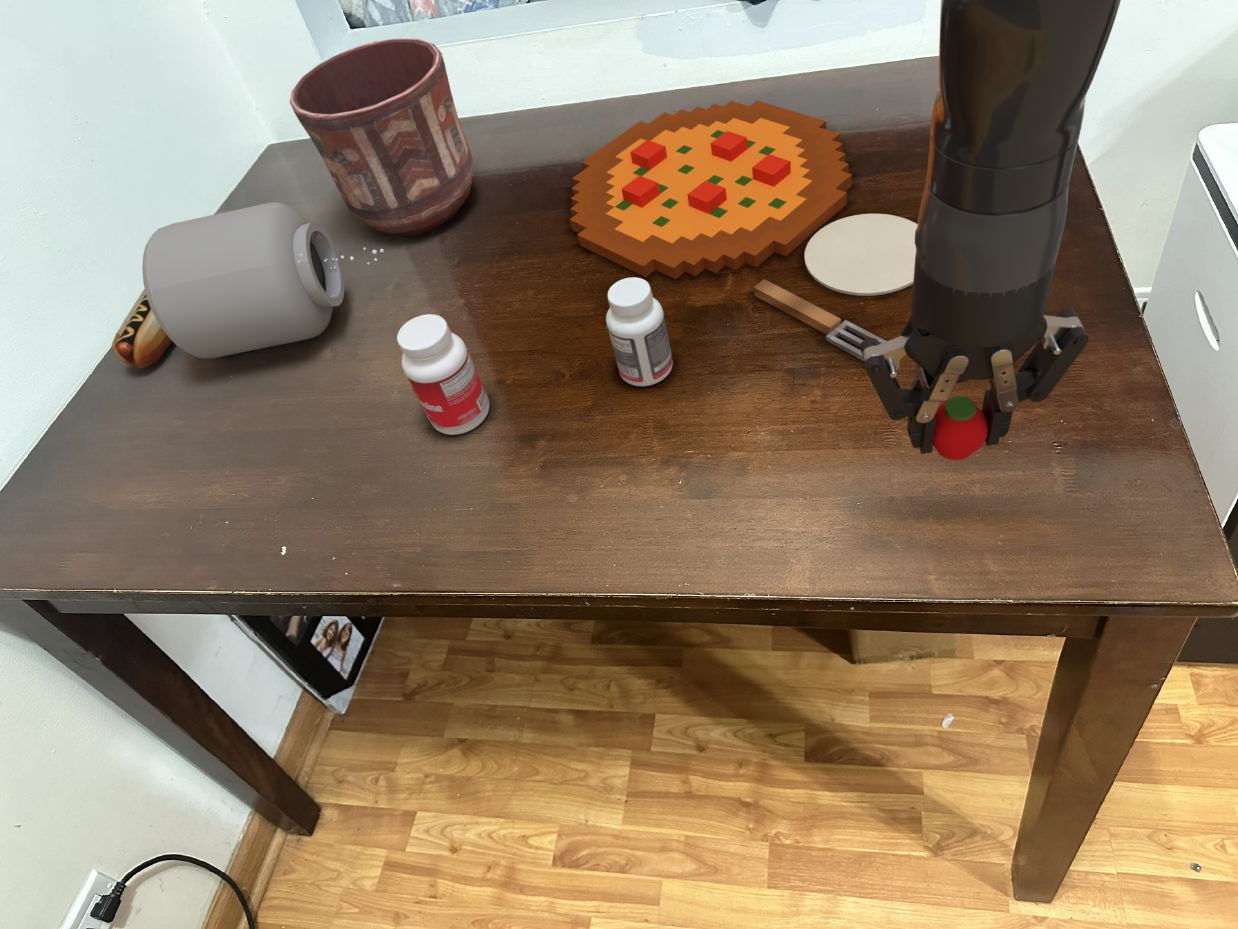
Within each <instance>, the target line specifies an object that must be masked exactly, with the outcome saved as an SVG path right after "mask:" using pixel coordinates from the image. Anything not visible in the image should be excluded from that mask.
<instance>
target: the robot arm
mask: <svg viewBox="0 0 1238 929" xmlns="http://www.w3.org/2000/svg"><path fill="white" fill-rule="evenodd" d="M1121 1H1122V0H940V16H939V42H938V43H939V44H938V45H939V46H938V88H937V91H936V94H935V99H934V102H933V103H934V104H933V108H932V114H931V123H930V128H929V129H930V130H929V131H930V132H929V139H928V153H927V164H926V178H925V185H924V189H923V191H922V197H921V201H920V204H919V210H918V216H917V217H918V218H917V224H918V225H917V229H916V230H915V246H916V254H915V267H914V279H913V284H912V293H911V308H910V316H909V319H908V321H907V322H906V323H905V325H904V326H903V328H902V330H901V333H900V336H897V337H895V338H892V339H889V340H886V341H887V342H884V343H882V344H879V341H878V340H877V339H875V338H868V339H864V341H862V342H861V344H860V347H859V350H861V352H862V356H863V360H864V361H863V360H862V361H863V364H864V367H865V370H866V374H867V377H868V378H869V380H870V382H871V384H872V386H873V388H874V390H875V392H876V394H877V395H878V398H879V399H880V402H881V404H882V406H883V407H884V408H885V411H886V413H887V415H888V417H889V418H890V420H892V421H901V420H903V419H905V418H907V427H906V430H907V434H908V436H909V441H910V444H911V446H912V447H913V449H919V452H920V454H921V455H924V454H932V453H933V449H934V446H933V441H934V433H935V425H936V420H935V417H934V416H935V414H936V412H937V410H938V408H939V406H940V405H942V403H946V402H947V401H948V400H949V399H950V396H951V393H952V391H953V390H954V388H955V386H956V384H961V383H964V382H966V381H970V380H971V381H972V380H977V381H985V380H988V381H989V385H990V389H985V390H984V396H983V401H982V407H981V410H982V412H983V413H984V415H985V417H986V419H987V423H988V434H987V437H986V440H985V441H984V443H985V446H986V447H987V446H988V447H989V446H998V445H999V442H1000V438H1004V437H1006V436H1007V435H1008V434H1009V432H1010V426H1011V423H1012V417H1013V413H1014V410H1016V409H1017V408H1018V407H1019V405H1020V403H1021V402H1024V401H1026V400H1027V401H1028V400H1029V401H1030V402H1031V403H1039V402H1042V401H1044V400H1046V399H1047V398H1048V397H1049V396H1050V394H1051V393H1052V391H1053V390H1054V389H1055V387H1056V386H1057V384H1058V383H1059V382H1060V381H1061V379H1062V378H1063V377H1064V375H1065V374H1067V371H1068V370H1069V368H1070V367H1072V365H1073V363H1074V362H1075V361H1076V359H1077V358H1078V357H1079V355H1080V354H1081V352H1082V351H1083V350H1084V348H1085V347H1086V346H1087V344H1088V343H1089V340H1090V338H1089V336H1088V334H1087V332H1086V329H1085V327H1084V325H1083V323H1082V322H1081V320H1080V318H1079V316H1078V314H1077V313H1076V311H1075V310H1074V309H1072V308H1065V309H1062V310H1060V311H1059V312H1058V313H1057V314H1056V315H1045V311H1046V307H1047V303H1048V299H1049V295H1050V290H1051V285H1052V282H1053V276H1054V274H1055V268H1056V263H1057V259H1058V255H1059V250H1060V245H1061V243H1062V238H1063V235H1064V229H1065V226H1066V219H1067V214H1068V205H1069V203H1068V201H1069V185H1070V179H1071V176H1072V171H1073V164H1074V162H1075V158H1076V153H1077V149H1078V144H1079V140H1080V134H1081V131H1082V127H1083V122H1084V115H1085V106H1086V98H1087V94H1088V92H1089V89H1090V87H1091V85H1092V83H1093V81H1094V78H1095V75H1096V73H1097V71H1098V68H1099V65H1100V62H1101V60H1102V57H1103V54H1104V52H1105V49H1106V47H1107V44H1108V42H1109V38H1110V35H1111V33H1112V30H1113V27H1114V25H1115V21H1116V18H1117V16H1118V11H1119V9H1120V5H1121ZM1032 347H1033V349H1032ZM1031 349H1032V350H1031ZM1029 350H1031V351H1030V353H1029V354H1028V356H1027V357H1026V359H1025V361H1024V362H1023V363H1022V365H1021V366H1020V368H1019V370H1018V372H1017V373H1016V372H1015V367H1014V364H1015V363H1016V362H1017V361H1018V360H1019V359H1020V358H1021V357H1023V356H1024V355H1025V354H1026V353H1027V352H1028V351H1029ZM906 356H908V357H909V358H910V360H912V361H913V362H915V363H916V366H915V367H916V369H915V371H916V372H915V376H914V378H913V380H912V382H911V385H910V387H909V388H901V386H900V383H899V382H898V379H897V376H898V371H900V369H901V367H902V365H901V361H902V360H903V359H904V358H905V357H906Z"/></svg>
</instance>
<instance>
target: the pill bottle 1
mask: <svg viewBox="0 0 1238 929" xmlns="http://www.w3.org/2000/svg"><path fill="white" fill-rule="evenodd" d="M396 340H397V344H398V346H399V347H400V350H401V352H402V355H401V368H402V370H403V373H404V376H405V377H406V379H407V381H408V383H409V385H410V387H411V388H412V391H413V392H414V394H415V396H416V398H417V400H418V402H419V403H420V406H421V407H422V409H423V412H424V413H425V415H426V417H427V419H428V422H430V424H431V425H432V427H433V428H434V429H435V430H436V431H438V432H439V433H441V434H445V435H449V436H450V435H452V436H454V435H455V436H456V435H462V434H466V433H468V432H470V431H472V430H474V429H475V428H477V427H479V426H480V424H482V423H483V422H484V421H485V419H486V417H487V416H488V414H489V411H490V399H489V396H488V394H487V392H486V390H485V387H484V385H483V382H482V380H481V378H480V375H479V374H478V372H477V368H476V367H475V365H474V362H473V360H472V358H471V354H470V353H469V350H468V348H467V346H466V343H465V342H464V340H463V339H462V338H461V337H460V336H459V335H457V334H455V333H454V332H452V331H451V329H450V327H449V325H448V323H447V321H446V319H445V318H443V317H442V316H440V315H438V314H431V313H430V314H429V313H428V314H422V315H421V314H420V315H418V316H415V317H413V318H411V319H409V320H408V321H407V322H405V323H404V324H403V325H402V326H401V327H400V329H399V331H397V335H396Z"/></svg>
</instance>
